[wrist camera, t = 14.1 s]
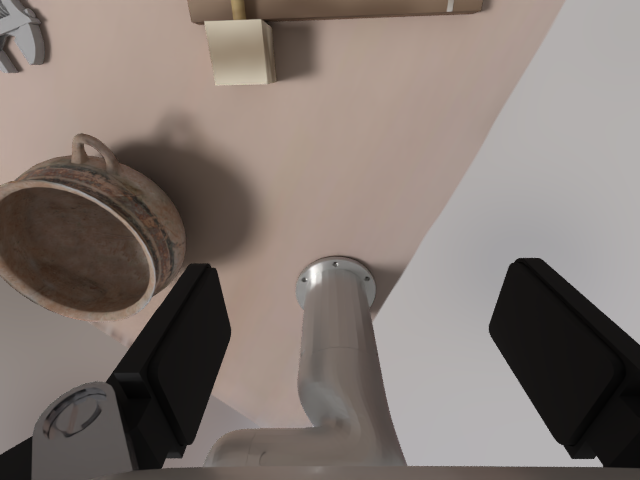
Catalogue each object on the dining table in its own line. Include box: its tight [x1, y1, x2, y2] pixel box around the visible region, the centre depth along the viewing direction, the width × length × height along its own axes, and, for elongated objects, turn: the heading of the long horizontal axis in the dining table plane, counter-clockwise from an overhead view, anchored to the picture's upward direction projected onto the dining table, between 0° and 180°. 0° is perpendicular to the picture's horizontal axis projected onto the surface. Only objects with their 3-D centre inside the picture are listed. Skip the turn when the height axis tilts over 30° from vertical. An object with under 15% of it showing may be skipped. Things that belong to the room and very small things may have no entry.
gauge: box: [204, 0, 277, 86], centre depth 29 cm, size 10×5×6 cm, turn 2°
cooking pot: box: [0, 134, 186, 322], centre depth 37 cm, size 25×19×12 cm
